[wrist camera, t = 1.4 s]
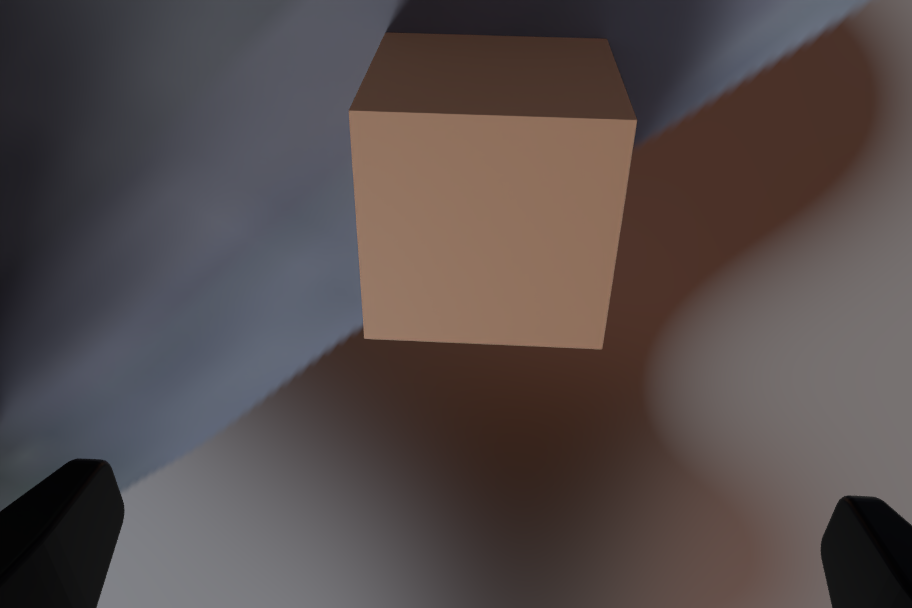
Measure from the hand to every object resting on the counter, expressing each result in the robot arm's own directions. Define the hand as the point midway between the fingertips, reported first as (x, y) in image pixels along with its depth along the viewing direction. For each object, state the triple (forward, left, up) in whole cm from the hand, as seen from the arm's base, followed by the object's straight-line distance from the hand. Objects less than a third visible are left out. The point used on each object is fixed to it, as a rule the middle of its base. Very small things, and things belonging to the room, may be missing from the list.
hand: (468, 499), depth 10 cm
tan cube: (0, 0, -11) cm, 11 cm away
